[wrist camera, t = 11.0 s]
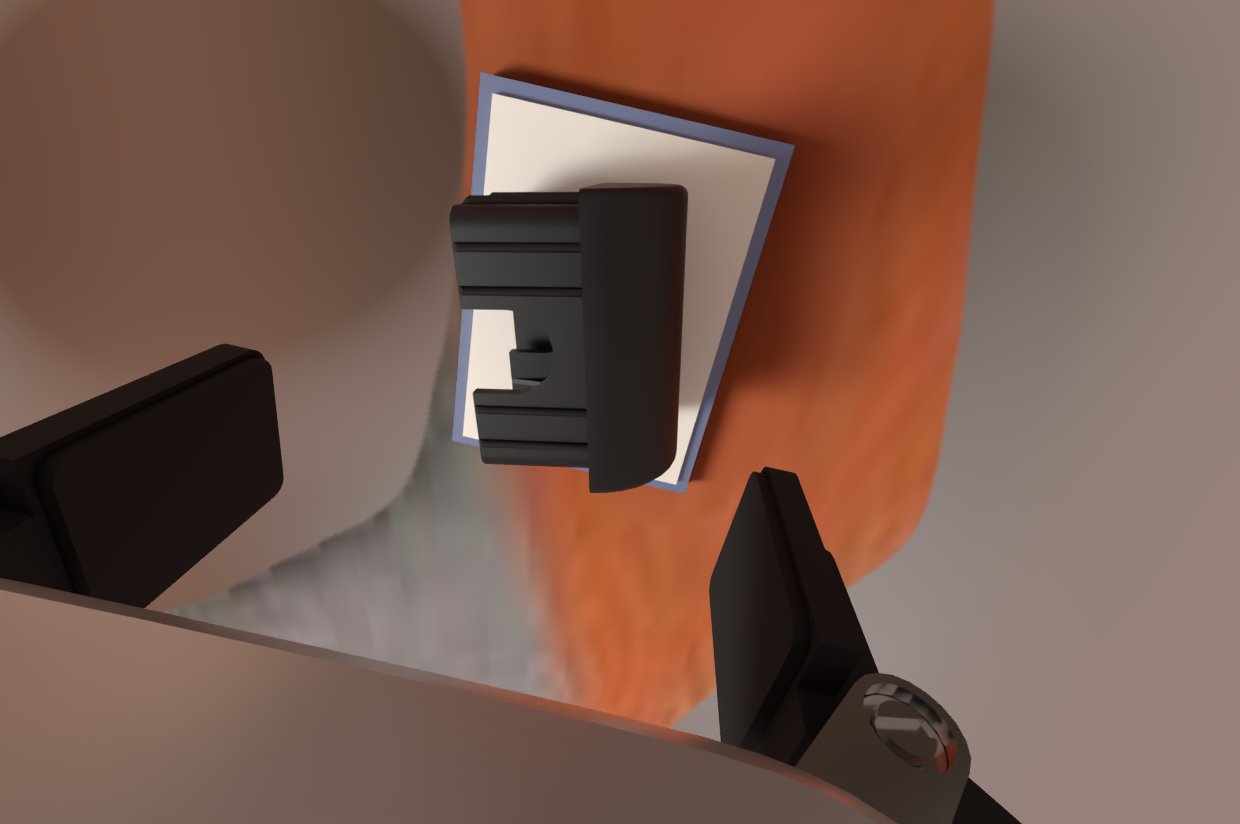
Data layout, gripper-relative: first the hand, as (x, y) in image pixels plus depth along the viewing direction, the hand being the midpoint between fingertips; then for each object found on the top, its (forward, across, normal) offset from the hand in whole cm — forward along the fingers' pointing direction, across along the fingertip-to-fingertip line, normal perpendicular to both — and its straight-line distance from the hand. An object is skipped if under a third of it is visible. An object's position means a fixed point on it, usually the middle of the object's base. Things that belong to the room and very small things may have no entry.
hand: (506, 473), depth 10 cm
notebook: (+15, 0, +1) cm, 15 cm away
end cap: (+14, 0, 0) cm, 14 cm away
